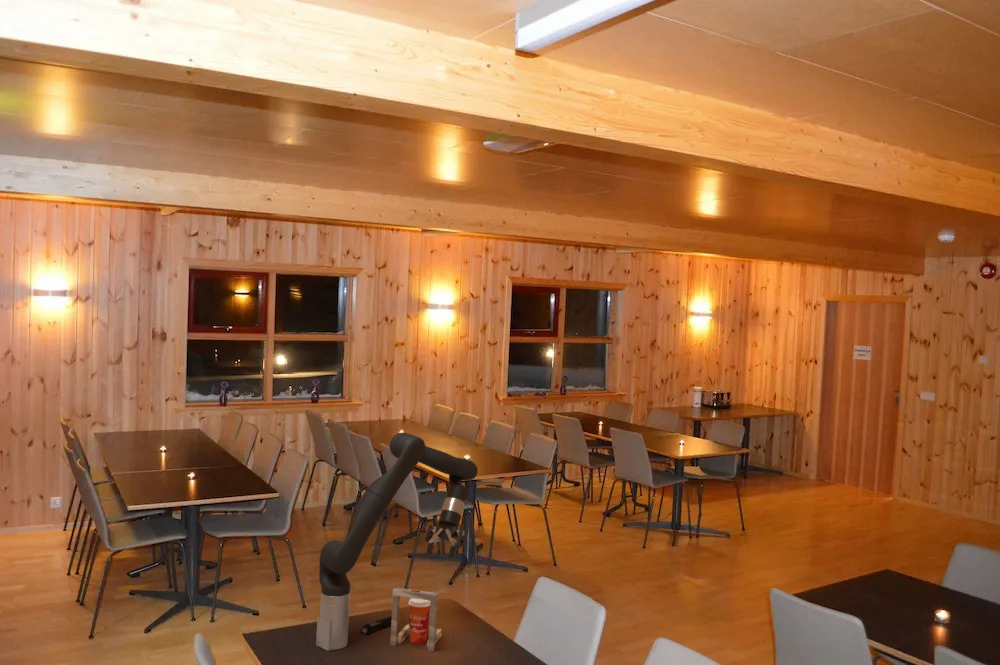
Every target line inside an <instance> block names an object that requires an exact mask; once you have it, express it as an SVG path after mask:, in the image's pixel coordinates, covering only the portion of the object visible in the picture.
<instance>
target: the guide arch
mask: <svg viewBox="0 0 1000 665" xmlns="http://www.w3.org/2000/svg"><path fill="white" fill-rule="evenodd" d="M401 597H403V598H409V599H411V598H416V599H423V600H430V601H431V602H430V613H429V623H428V639H427V640H426V649H427V651H428V652H434V651H435V650H436V644H437V643H438V642H439V641H440V639H441V638H442V637H443V636H442V634H443V629H442V628H437V621H438V620H437V616H438V602H439V601H438V600H439V593H438V592H437V593H436V592H431V591H424V590H420V589H417V588H411V589H410V588H409V589H408V588H401V587H394V588H393V589H392V602H391V603H392V604H391V607H392V609H391V616H392V622H391V625H390V642H389V643H390V646H397V645H401V644H402V643H403V642H404V641H405V639H406V638H408V636H409V623H408V624H406V625H405V626H404V627H403V628H402V629H401V631H400V632H399V622H400V620H399V619H400V601H401Z"/></svg>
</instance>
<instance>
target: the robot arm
mask: <svg viewBox="0 0 1000 665" xmlns="http://www.w3.org/2000/svg"><path fill="white" fill-rule="evenodd" d="M389 451H390V454H391V455H392V456H393V457H394V458H396V459H397V460H396V462H395V463H394V464H393V465H392V467H391V468H390V469H389V470H388V471H387V472H385V473H384V474H382V475H381V476H379V477H378V478H377V479H375V480H374V481H373V482H371V483H370V484H369V485H368V486H367V488H366V489H365V490H364V493H363V494H362V496H361V497H360V498H359V500H358V502H357V504H356V508H355V513H354V518H353V523H352V526H351V528H350V530H349V532H348V534H346V537H345V538H344V540H343V541H341V540H337V539H334V540H329V541H327V542H326V543H325V544H324V545H323V547H322V548H321V551H320V554H319V574H318V576H319V578H318V579H319V584H320V587H321V588H320V589H321V591H320V592H321V593H320V608H319V610H320V612H319V615H318V616H317V617H316V618H317V620H316V635H315V636H316V639H315V640H316V641H315V645H316V646H317V647H319V648H321V649H323V650H325V651H327V652H329V651H336V650H340V649H344V648H345V647H347V645H348V642H349V641H348V639H349V622H350V620H349V619H350V600H351V582H350V580H349V579H348V576H347V573H348V572H350V571H351V570H352V569H353V568H354V566H355V565H356V563H357V562H358V560H359V557H360V555H361V554H362V552H363V549H364V547H365V545H366V543H367V542H368V540H369V538H370V536H371V535H372V533H373V531H374V530H375V528H376V527H377V524H378V523H379V522H380V520H381V519H382V517H383V516H384V514H385V512H386V511H387V509H388V507H389V506H390V504H391V503H392V501H393V499H394V497H395V496H396V495H397V493H398V492H399V490H400V488H401V487H402V485H403V484H404V482H405V481H406V479H407V478H408V477H409V475H410V474H411V473H412V471H414V469H415V468H416V466H417V465H418V464H419V463H420V464H423V465H425V466H427V467H428V468H431V469H433V470H435V471H438V472H440V473H442V474H445V475H448V490H447V494H446V497H445V500H444V502H443V504H442V508H441V512H440V515H439V518H438V523H437V524H438V525H437V526H433V525H432V524H430V525H429V526H428V529H427V532H426V535H425V537H424V541H425V542H426V543H427V544H428V545H427V548H426V554H427V555H428V556H430V557H431V556H432V555H433V552H434V548H435V546H434V545H436V544H437V543H439V542H440V541H447V542H450V547H449V548H450V549H449V551H448V556H447V558H449V559H451V560H452V559H453V558H454V557H455V555H456V551H457V549H458V548H460V549H461V548H462V547H463V545H464V541H465V540H464V539H465V535H466V532H465V530H463V529H462V528H459V527H460V523H461V520H462V517H463V513H464V507H465V502H466V500H467V495H468V488H467V487H466V486H465V485H463V484H462V481H471V480H474V479H475V478H476V477H477V475H478V473H479V471H478V467H477V464H476V463H475V462H473V461H472V460H470V459H465V458H461V457H457V456H454V455H452V454H450V453H447V452H445V451H442V450H439V449H436V448H432V447H430V446H427V445H426V443H425V441H424V440H423V439H422V437H419V436H416V435H413V434H410V433H408V432H399V433H396V434H394V435H393V437H392V438H391V439H390V442H389ZM456 535H457V539H456Z"/></svg>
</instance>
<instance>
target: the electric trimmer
mask: <svg viewBox="0 0 1000 665" xmlns="http://www.w3.org/2000/svg"><path fill="white" fill-rule="evenodd" d="M391 622H392V615H390V616H388V617H385V618H382V619H379V620H376V621H374V622H371V623H366V624H365V625H363V626H362V627H361V629H360V632H359V633H360V634H362V635H364V634H365V635H364V636H369V635H370V633H373V632H375V631H377V630H380V629H385V628H387V627H389V626H390V627H391Z"/></svg>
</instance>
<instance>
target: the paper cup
mask: <svg viewBox="0 0 1000 665" xmlns="http://www.w3.org/2000/svg"><path fill="white" fill-rule="evenodd" d="M430 602H431V601H430V600H423V599H416V598H409V601H408V603H407V604H408V605H409V607H408V608H409V609H408V610H409V613H408V614H409V616H408V618H409V619H408V620H409V621H408V624H409V635H408V636H409V643H411V644H413V645H424V644H425V643H427V640H428V639H427V638H428V632H429V621H430Z"/></svg>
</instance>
